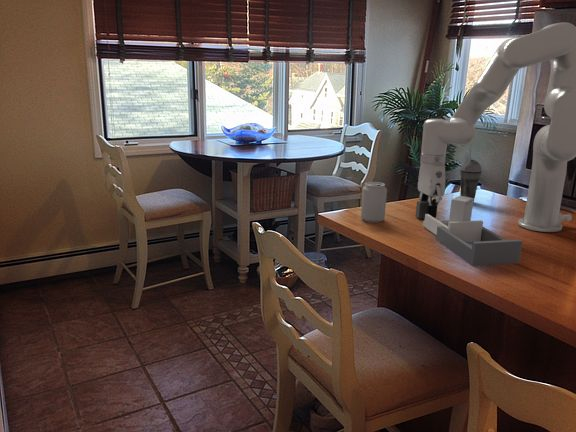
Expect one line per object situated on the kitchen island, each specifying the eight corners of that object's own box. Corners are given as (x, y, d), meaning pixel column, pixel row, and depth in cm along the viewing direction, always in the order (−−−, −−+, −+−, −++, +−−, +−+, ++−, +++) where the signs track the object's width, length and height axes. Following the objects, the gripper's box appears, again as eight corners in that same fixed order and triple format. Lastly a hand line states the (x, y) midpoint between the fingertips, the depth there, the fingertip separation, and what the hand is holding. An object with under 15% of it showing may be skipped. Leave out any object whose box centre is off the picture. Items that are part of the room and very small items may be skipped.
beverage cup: (480, 205, 189) (487, 149, 183) (459, 204, 189) (466, 149, 183) (473, 199, 196) (480, 146, 190) (454, 199, 196) (460, 145, 190)
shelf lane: (477, 237, 154) (480, 217, 153) (519, 263, 136) (522, 240, 134) (435, 239, 152) (438, 219, 150) (472, 265, 133) (475, 243, 131)
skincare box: (460, 242, 150) (465, 201, 146) (446, 239, 152) (450, 198, 149) (469, 237, 154) (474, 197, 151) (455, 234, 157) (459, 195, 153)
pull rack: (438, 215, 174) (440, 197, 173) (480, 241, 150) (483, 221, 148) (409, 216, 172) (411, 198, 171) (447, 243, 148) (450, 222, 146)
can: (384, 224, 165) (387, 186, 162) (360, 222, 166) (362, 185, 163) (384, 217, 172) (387, 181, 169) (361, 215, 174) (363, 180, 170)
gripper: (457, 164, 158) (450, 222, 164) (431, 154, 174) (426, 207, 180) (434, 164, 157) (428, 223, 162) (410, 154, 173) (405, 208, 178)
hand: (427, 214), depth 171 cm, fingers closed on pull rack, 4 cm apart
